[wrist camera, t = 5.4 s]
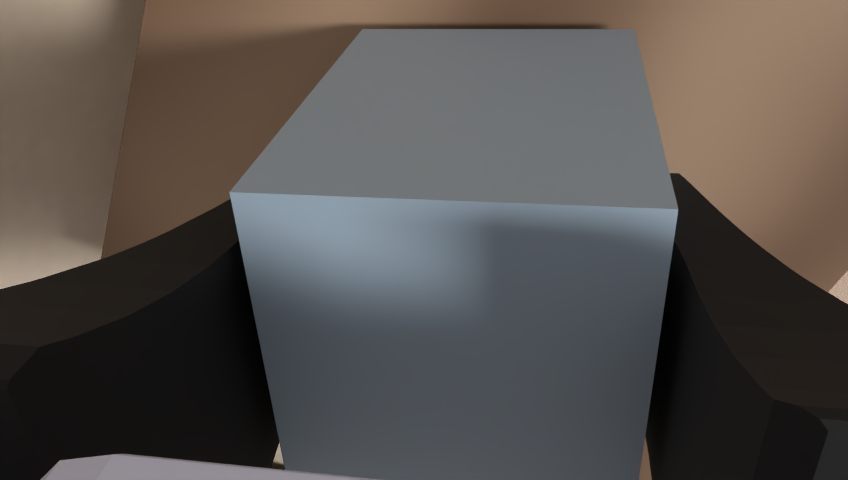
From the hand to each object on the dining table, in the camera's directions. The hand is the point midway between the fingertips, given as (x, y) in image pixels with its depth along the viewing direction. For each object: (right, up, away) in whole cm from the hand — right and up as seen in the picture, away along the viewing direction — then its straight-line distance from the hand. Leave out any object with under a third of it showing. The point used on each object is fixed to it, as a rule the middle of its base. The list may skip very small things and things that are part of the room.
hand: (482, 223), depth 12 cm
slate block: (0, +1, +2) cm, 2 cm away
